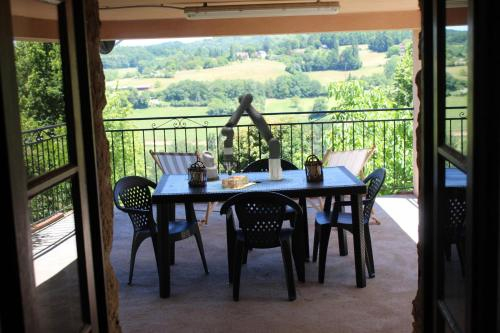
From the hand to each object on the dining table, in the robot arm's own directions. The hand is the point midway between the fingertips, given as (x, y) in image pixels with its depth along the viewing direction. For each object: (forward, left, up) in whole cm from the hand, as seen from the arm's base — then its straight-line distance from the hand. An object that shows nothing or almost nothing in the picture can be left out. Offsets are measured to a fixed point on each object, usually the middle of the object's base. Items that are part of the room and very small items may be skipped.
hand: (229, 175), depth 533 cm
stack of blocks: (0, -1, -4) cm, 5 cm away
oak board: (-9, 0, -8) cm, 12 cm away
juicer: (+36, -20, -8) cm, 42 cm away
